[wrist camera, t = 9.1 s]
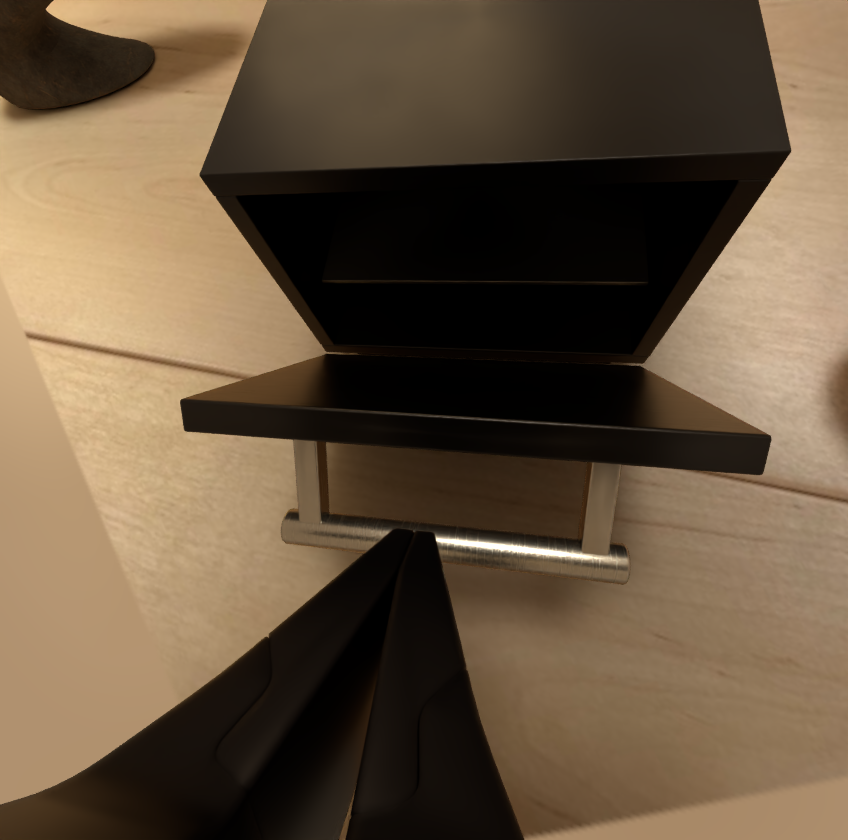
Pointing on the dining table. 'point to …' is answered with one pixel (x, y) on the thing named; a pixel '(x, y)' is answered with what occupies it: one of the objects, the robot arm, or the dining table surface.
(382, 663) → the robot arm
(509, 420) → the oven door
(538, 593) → the dining table surface
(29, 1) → the coffee table
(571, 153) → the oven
